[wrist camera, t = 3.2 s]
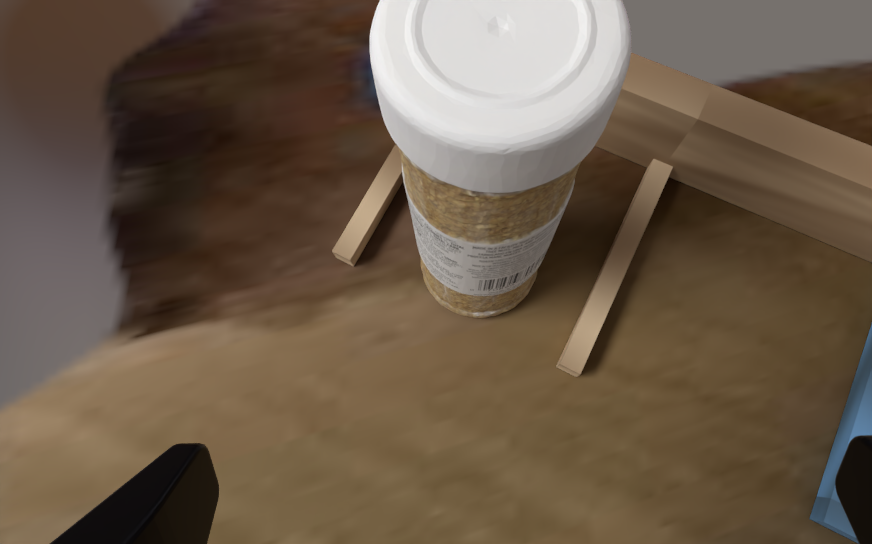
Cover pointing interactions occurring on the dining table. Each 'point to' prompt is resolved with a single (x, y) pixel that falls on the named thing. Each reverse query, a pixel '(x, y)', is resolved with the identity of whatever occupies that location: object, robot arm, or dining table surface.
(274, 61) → the dining table surface
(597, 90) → the sprinkles bottle
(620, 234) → the bay rail
